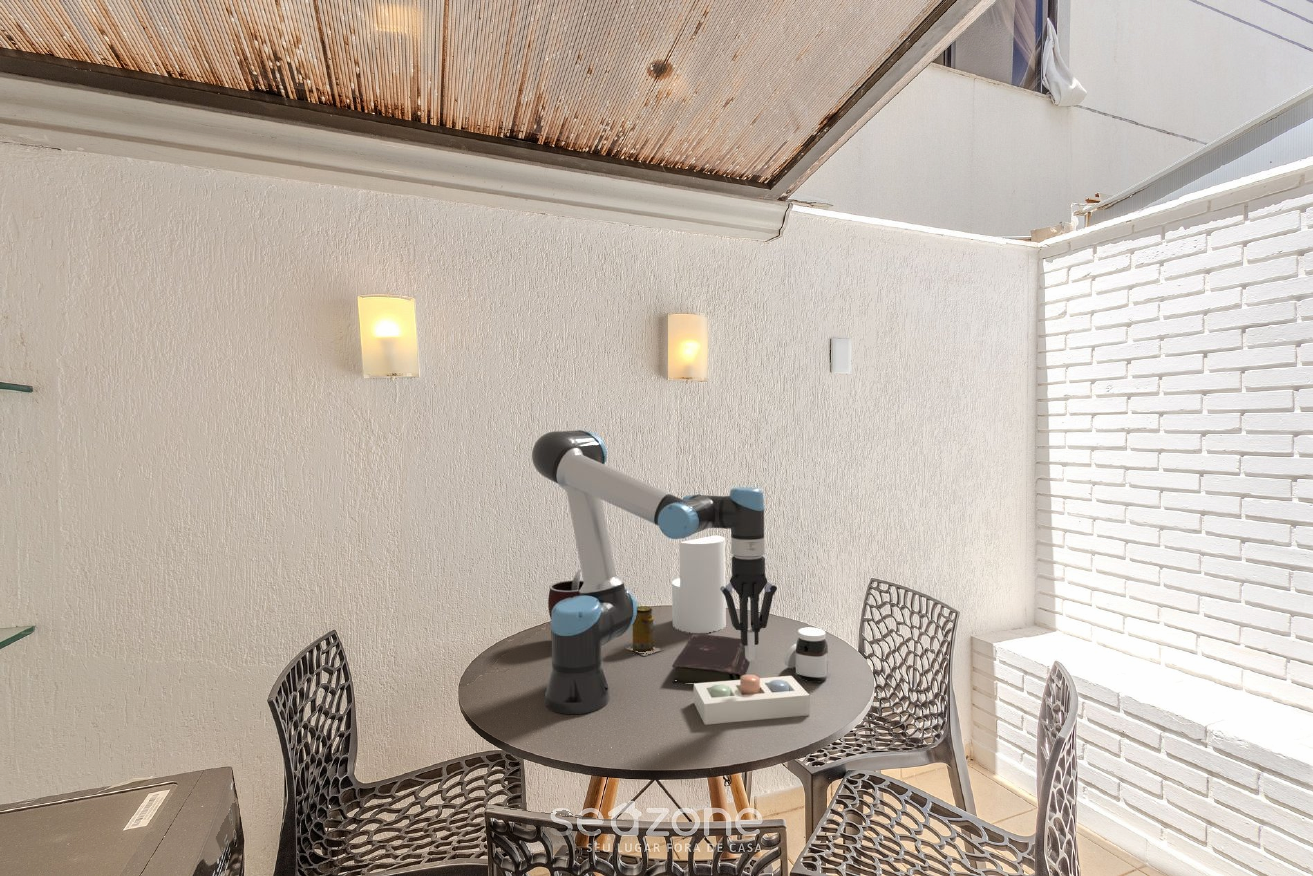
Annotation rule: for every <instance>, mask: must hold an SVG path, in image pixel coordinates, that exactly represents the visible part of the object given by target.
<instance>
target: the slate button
mask: <svg viewBox="0 0 1313 876" xmlns="http://www.w3.org/2000/svg"><path fill="white" fill-rule="evenodd" d="M770 691H771V692H772V693H774V692H786V691H789V683H788V682H786V681H783V680H773V681H771V682H770Z"/></svg>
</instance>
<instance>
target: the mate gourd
mask: <svg viewBox="0 0 1313 876" xmlns="http://www.w3.org/2000/svg"><path fill="white" fill-rule="evenodd" d="M581 573H582V571H581V569H578V570H577V572H576V573H575V575H574V577H573V579H572V580H563V581H559V582H555V583H552V584H551V585H550V586H549V592H548V598H547V600H548V601H547V605H548V606H547V607H548V614H549V618H550V619H551V616H552V610H553V608H554V606H555V605H556V604H557V603H558V602H560V601H562V600H564V599H566V598H573V597H574V596H580V592H579V590H580V589H581V587H582V586H583V583H584V582H583V580H580V579H581V578H580V577H581Z"/></svg>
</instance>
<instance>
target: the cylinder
mask: <svg viewBox="0 0 1313 876" xmlns="http://www.w3.org/2000/svg"><path fill="white" fill-rule="evenodd" d="M722 586H724V587H725V586H726V538H725V537H723V536H721V535H710V536H706V537H700V538H696V539H689V540H685V541H680V542H679V577H678V578H675V579H674V580H673V581H672V582H671V591H672V592H671V594H672V595H671V598H672V600H671V601H672V602H671V603H672V605H671V606H672V608H671V609H672V627H673V628H674V627H675V628H674V629H675V630H678V629H679V630H678V631H680V630H681V631H680V632H684V631H686V632H685V633H689V632H690V634H710V633H709V632H711V633H714V632H713V631H716V632H719V631H718V630H720V629H722V630H723V628H724V627H725V628H726V626H727V622H726V621H727V618H726V617H727V614H726V612H727V611H726V610H727V609H726V608H727V607H726V606H727V602H726V599H725V596H724V594H723V593H722V591H721V590H720V589H721V587H722ZM725 628H724V629H725ZM720 631H721V630H720Z"/></svg>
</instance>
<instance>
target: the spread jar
mask: <svg viewBox="0 0 1313 876" xmlns="http://www.w3.org/2000/svg"><path fill="white" fill-rule="evenodd" d="M797 637H798V638H797V640H796V643H794V644H793V645H791V647H790V648H789V649H788V651H786V654H785V655H784V656H785V657H784V662H783V663H784V665H785V666H786V667H787V668H789V669H791V668H792V669H794V668H793V667H795V674H796V676H797V677H798V678H799V679H801V680H802V679H803V681H805V680H807V681H806V682H810V681H812V682H811V683H817V682H818V681H820V682H823V681H825V680H826V679H827V677H828V672H829V671H828V668H829V657H828V655H829V649H828V647H829V645H828V642H827V640H826V631H825V630H823V629H822V628H818V627H811V626H810V627H808V626H807V627H802V628H799V629H798V630H797Z"/></svg>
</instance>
